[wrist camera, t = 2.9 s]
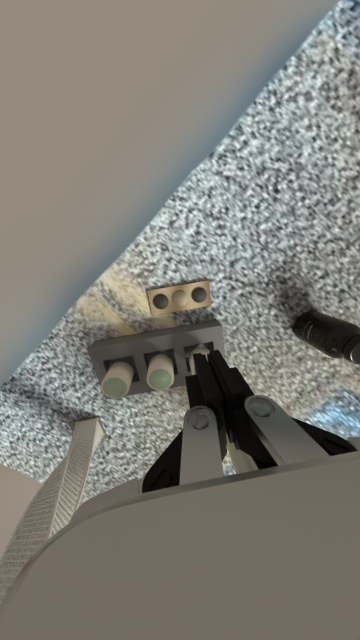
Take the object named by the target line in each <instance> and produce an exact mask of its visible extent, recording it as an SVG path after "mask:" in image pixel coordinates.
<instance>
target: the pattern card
mask: <svg viewBox="0 0 360 640" xmlns="http://www.w3.org/2000/svg"><path fill="white" fill-rule="evenodd" d="M147 293H148V297H149V302H150V306H151V311H152V315H159V314H165V313H171V312H176V311H182V310H188V309H194V308H199V307H205V306H211V297H210V288H209V280H206V281H200V282H194V283H188V284H183V285H177V286H171V287H165V288H159V289H153V290H148V291H147Z"/></svg>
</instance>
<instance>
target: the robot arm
mask: <svg viewBox="0 0 360 640" xmlns="http://www.w3.org/2000/svg"><path fill="white" fill-rule="evenodd" d="M193 359H194V366H195V372H196V374H195V375H190V376H185V379H186V386H187V392H188V398H189V404H190V409H189V410H188V411H187V412H186V414H185V416H184V423H183V430H182V431H181V432H180V433H179V434H178V436H177V437H176V438H175V439H174V440H173V442H172V443H171V444H170V445H169V446H168V448H167V449H166V450H165V451H164V452H163V454H162V455H161V456H160V457H159V458H158V460H157V461H156V462H155V463H154V464H153V466H152V467H151V468H150V469H149V471H148V472H147V474H146V475H145V477H144V478H141V479H139V480H138V479H137V478H134V479H132V480H130V481H128V482H126V483H124V484H121V485H119V486H117V487H115V488H113V489H111V490H108V491H106V492H104V493H102V494H100V495H98V496H95V497H93V498H91V499H89V500H87V501H86V502H84V503H83V504H82V505H81V506H80V507H79V508H78V509H77V510H76V511H75V513H74V514H73V516H72V518H71V519H70V521H69V524H67V525H66V526H65V527H63V528H62V529H60V530H59V531H58V532H57V533H55V534H54V535H53V536H52V537H51V538H49V539H48V540H47V541H46V542H45V543H44V544H43V545H42V546H41V547H40V548H39V549H38V550H37V551H36V552H35V553H34V554H33V555H32V557H31V558H30V559H29V561H28V562H27V563H26V565H25V566H24V567H23V569H22V570H21V572H20V573H19V575H18V576H17V578H16V579H15V581H14V582H13V584H12V586H11V587H10V589H9V591H8V592H7V594H6V596H5V597H4V599H3V601H2V603H1V604H0V640H360V438H356V437H348V440H345V439H343V438H341V437H339V436H337V435H335V434H333V433H330V432H328V431H325V430H323V429H320V428H318V427H315V426H313V425H310V424H308V423H305V422H302V421H300V420H297V419H295V418H292V417H290V416H289V415H288V414H287V413H286V412H285V411H284V410H283V409H282V408H281V407H280V406H279V405H278V404H277V403H276V402H275V401H273V400H272V399H270V398H268V397H266V396H262V395H254V393H253V392H252V390H251V389H250V387H249V386H248V384H247V383H246V381H245V380H244V378H243V377H242V375H241V374H240V372H239V371H238V369H237V368H236V367H234V368H229V366H228V365H227V363H226V361H225V360H224V358H223V356H222V355H221V353H220V351H219V350H213V351H210V353H209V354H207V358H206V356H205V354H203V355H202V354H201V353H196V354H193ZM207 359H208V361H207ZM226 444H227V447H228V450H229V454H230V457H231V460H232V463H233V466H234V469H235V472H236V474H234V475H229V476H224V474H223V467H222V461H223V459H224V457H225V455H226V453H227V448H226Z"/></svg>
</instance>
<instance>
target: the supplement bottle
mask: <svg viewBox="0 0 360 640" xmlns="http://www.w3.org/2000/svg"><path fill="white" fill-rule="evenodd" d="M294 332H295V334H296V336H297V337H298V338H299V339H301V340H303V341H304V342H306V343H308V344H309V345H311V346H313V347H314V348H316V349H318V350H320V351H321V352H323V353H325V354H326V355H328V356H330V357H333V358H344V359H346V360H349V361H351V362H353V363H355V364H360V328H359V327H358V326H357V325H355V324H352V323H349V322H346V321H344V320H341V319H338V318H335V317H332V316H329V315H326V314H323V313H320V312H316V311H310V312H306V313H304V314H303V315H301V316H300V317H299V318H298V319H297V321H296V323H295V325H294Z"/></svg>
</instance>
